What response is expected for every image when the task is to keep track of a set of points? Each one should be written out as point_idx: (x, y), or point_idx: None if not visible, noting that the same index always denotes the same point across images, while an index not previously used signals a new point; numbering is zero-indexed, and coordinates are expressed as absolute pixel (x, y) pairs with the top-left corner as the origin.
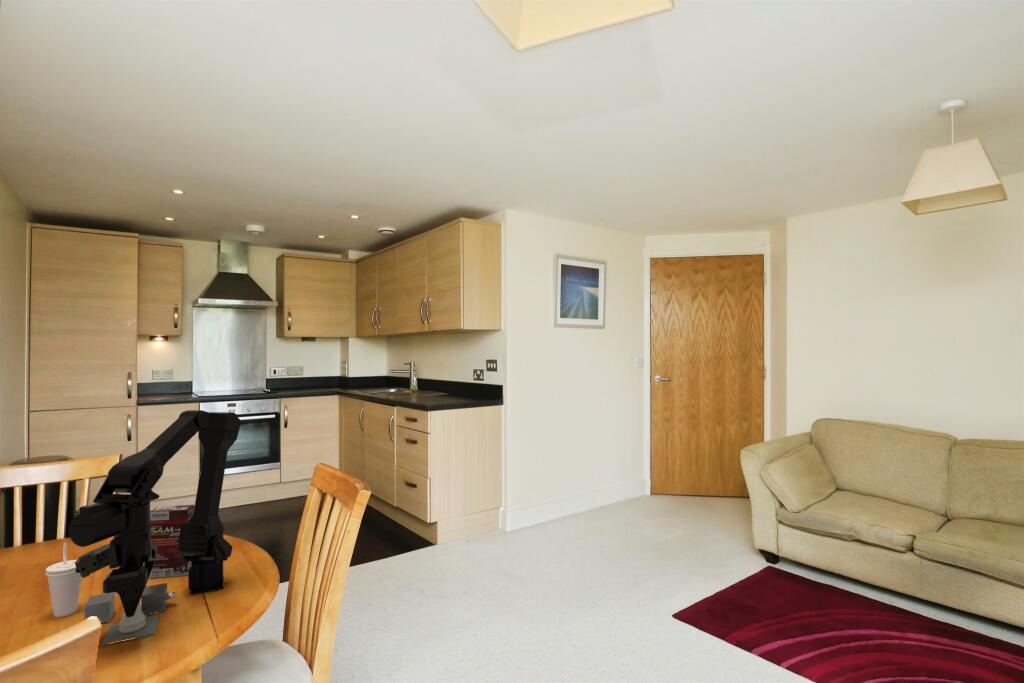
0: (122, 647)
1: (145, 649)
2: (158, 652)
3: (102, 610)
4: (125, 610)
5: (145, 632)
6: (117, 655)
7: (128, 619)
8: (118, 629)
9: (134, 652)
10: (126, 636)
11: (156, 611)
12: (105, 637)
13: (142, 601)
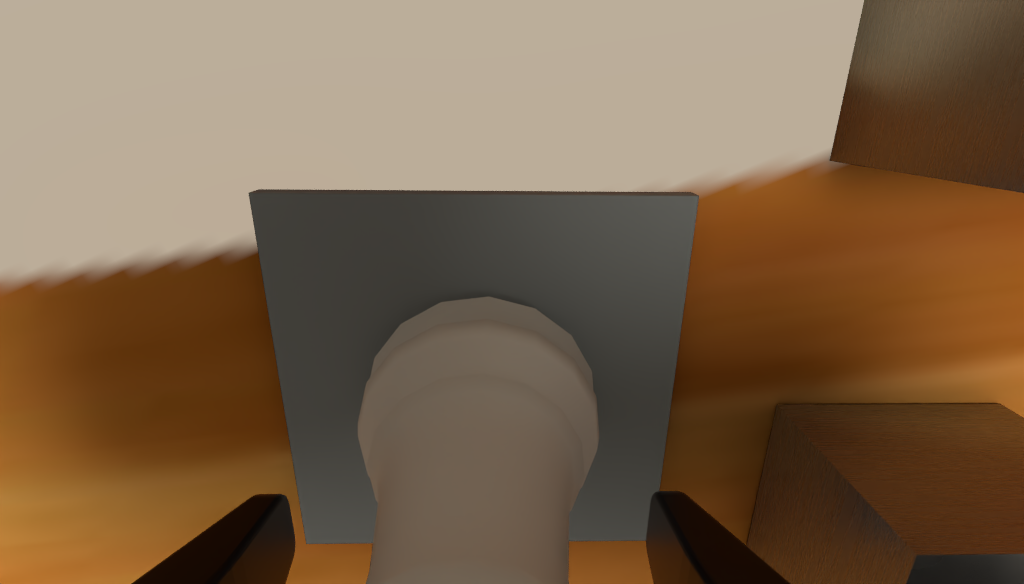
0: (171, 353)
1: (81, 502)
2: (8, 575)
3: (964, 88)
4: (154, 579)
5: (345, 488)
6: (27, 340)
7: (371, 452)
8: (453, 303)
9: (49, 444)
10: (327, 369)
11: (760, 508)
12: (392, 197)
13: (859, 507)
